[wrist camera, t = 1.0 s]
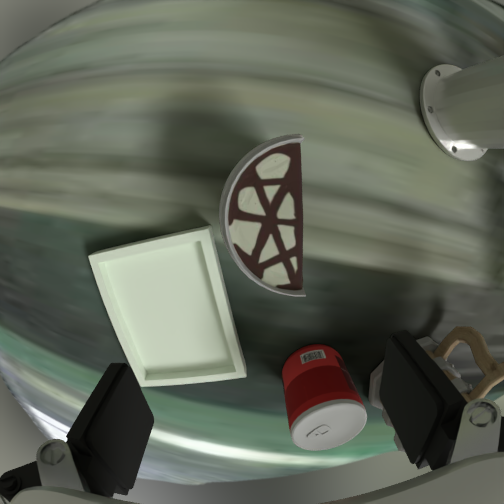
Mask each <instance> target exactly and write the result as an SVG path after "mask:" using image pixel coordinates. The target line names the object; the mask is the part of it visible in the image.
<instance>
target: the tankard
mask: <svg viewBox="0 0 504 504" xmlns="http://www.w3.org/2000/svg"><path fill="white" fill-rule="evenodd" d="M416 341H417V342H418V343H419V344H420V346H421V347H422V348H423V349H424V350H425V352H426V353H427V354H428V355H429V356H430V357H431V359H433V360H434V361H435V362H436V364H437V365H438V366H439V367H440V368H441V370H442V371H443V372H444V373H445V374H446V376H447V377H448V378H449V379H450V381H451V382H452V383H453V384H454V386H455V387H456V388H457V389H458V391H459V392H460V393H461V395H462V396H463V397H464V398H465V400H466V401H467V402H468V403H469V402H470V401H472V400H474V399H478V398H483V397H484V396H485V395H486V394H487V393H488V392H489V390H490V389H491V388H492V387H493V386H495V385H496V384H498V383H499V382H501V381H502V380H503V379H504V362H502V363H500V364H498V363H497V362H496V361H495V359H494V358H493V357H492V356H491V354H490V353H489V350H488V348H487V345H486V343H485V340H484V338H483V336H482V335H481V334H480V333H479V332H478V331H476V330H475V329H474V328H472V327H455V328H454V329H453V330H452V331H451V332H450V333H449V334H448V335H447V336H446V337H445V338H444V339H443V341H442V342H441V344H440V345H438V344H437V343H436V342H434V341H433V340H432V339H431V338H429V337H428V336H427V337H424V338H421V339H418V340H416ZM460 342H462V343H467V344H468V345H469V346H470V348H471V350H472V353H473V356H474V359H475V362H476V364H477V365H478V366H479V368H480V369H481V370H482V372H483V373H484V375H485V377H484V378H483V379H482V380H481V382H480V383H479V384H478V385H477V386H476V387H475V388H474V389H472V387H471V384H467V383H465V382H464V381H463V380H462V379H460V377H461V375H460V374H459V373H458V371H457V370H456V369H455V368H454V366H453V364H449V363H448V362H447V357H448V356H449V354H450V353H451V351H452V350H453V348H454V347H455V346H456V345H457V344H459V343H460ZM383 365H384V361H383V362H382V363H381V364H380V365H379V366H378V367H377V368H376V369H375V370H374V371H373V372H372V373H371V376H370V387H369V398H368V399H369V402H370V404H371V405H373V406H375V407H377V408H380V409H382V410H383V412H382V417H383V419H384V421H385V423H386V425H388V426H390V427H393V425H392V422H391V420H390V418H389V416H388V414H387V412H386V410H385V408H384V406H383V404H382V402H381V400H380V396H379V390H380V384H381V378H382V372H383ZM393 428H394V427H393ZM394 441H395V444H396V446H397V448H398V450H399V451H403V452H405V450H404V448H403V445H402V443H401V441H400V439H399V437H398V435H397V433H396V432H395V436H394Z"/></svg>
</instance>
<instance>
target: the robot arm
mask: <svg viewBox="0 0 504 504" xmlns="http://www.w3.org/2000/svg"><path fill="white" fill-rule="evenodd" d="M420 106H421V111H422V115H423V118H424V121H425V124H426V126H427V128H428V130H429V133H430V134H431V136H432V137H433V139H434V141H435V142H436V143H437V144H438V146H439V147H440V148H441V149H442V150H443V151H444V152H445V153H446V154H448V155H449V156H451V157H453V158H455V159H458V160H462V161H473V160H476V159H479V158H480V157H481V156H483V155H484V153H485V152H486V151H487V149H488V148H500V149H504V56H501V57H498V58H495V59H492V60H489V61H486V62H483V63H480V64H477V65H474V66H471V67H469V68H466V69H463V70H462V69H461V68H459V67H457V66H454V65H450V64H442V65H438V66H435V67H433V68H431V69H430V70H429V71H428V72H427V73H426V74H425V76H424V78H423V80H422V83H421V87H420ZM379 396H380V400H381V402H382V404H383V406H384V408H385V410H386V412H387V414H388V416H389V418H390V420H391V422H392V425H393V427H394V429H395V431H396V433H397V435H398V437H399V439H400V441H401V443H402V445H403V448H404V450H405V452H406V454H407V456H408V458H409V460H410V462H411V463H412V464H414V463H415V464H416V466H417V468H418V469H421V468H423V467H425V466H428V465H429V466H430V468H431V470H433V471H431V472H428V473H426V474H423V475H421V476H418V477H416V478H413V479H410V480H407V481H404V482H401V483H398V484H395V485H392V486H389V487H386V488H382V489H379V490H376V491H372V492H369V493H365V494H361V495H357V496H353V497H349V498H345V499H340V500H336V501H331V502H325V503H320V504H504V417H502V416H501V410H500V408H499V406H498V405H497V404H496V403H495V402H493V401H491V400H489V399H485V398H478V399H474V400H472V401H470V402H469V403H468V402H467V401H466V400H465V398H464V397H463V396H462V395H461V393H460V392H459V391H458V389H457V388H456V387H455V386H454V384H453V383H452V382H451V381H450V379H449V378H448V377H447V376H446V374H445V373H444V372H443V371H442V370H441V368H440V367H439V366H438V365H437V364H436V362H435V361H434V360H433V359H431V357H430V356H429V355H428V354H427V353H426V352H425V350H424V349H423V348H422V347H421V346H420V344H419V343H418V342H417V341H416V340H415V339H414V337H413V336H412V335H411V334H410V333H409V332H408V331H407V330H405V331H401V332H397V333H393V334H392V335H391V338H388V339H387V342H386V350H385V358H384V365H383V372H382V378H381V384H380V390H379ZM153 424H154V417H153V414H152V412H151V410H150V408H149V406H148V404H147V401H146V399H145V397H144V395H143V393H142V391H141V388H140V386H139V384H138V382H137V379H136V377H135V375H134V372H133V370H132V368H131V367H128V365H127V364H125V363H111V364H110V365H109V367H108V368H107V370H106V371H105V373H104V375H103V376H102V378H101V379H100V381H99V382H98V384H97V386H96V387H95V389H94V390H93V392H92V394H91V395H90V397H89V399H88V400H87V402H86V404H85V405H84V407H83V408H82V410H81V412H80V414H79V415H78V417H77V419H76V420H75V422H74V424H73V425H72V427H71V429H70V431H69V432H68V434H67V436H66V437H67V438H68V440H67V442H64V441H63V440H60V439H52V440H48V441H46V442H45V443H43V444H42V445H41V446H40V447H39V449H38V451H37V454H36V460H37V461H34V462H32V463H29V464H26V465H24V466H21V467H18V468H16V469H13V470H10V471H8V472H5V473H4V474H3V475H2V476H1V477H0V504H139V503H133V502H128V501H123V500H117V499H113V494H114V493H117V494H122V495H127V494H128V491H129V489H132V488H133V486H134V483H135V480H136V477H137V473H138V470H139V467H140V464H141V461H142V458H143V455H144V451H145V448H146V445H147V442H148V439H149V436H150V433H151V430H152V427H153Z"/></svg>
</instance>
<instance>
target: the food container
mask: <svg viewBox="0 0 504 504" xmlns="http://www.w3.org/2000/svg"><path fill="white" fill-rule="evenodd" d="M303 140H304V138H303V136H302V135H300V134H292V135H285V136H280V137H276V138H273V139H271V140H268V141H266V142H264V143H262V144H260V145H258V146H257V147H255V148H254V149H252V150H251V151H249V152H248V153H247V154H246V155H245V156H244V157H243V158H242V159H241V160H240V161H239V162H238V163H237V165H236V166H235V167H234V169H233V170H232V171H231V173H230V175H229V177H228V179H227V181H226V183H225V186H224V188H223V191H222V194H221V200H220V205H219V223H220V229H221V234H222V237H223V240H224V243H225V246H226V248H227V250H228V252H229V254H230V255H231V257H232V258H233V260H234V261H235V262H236V264H237V265H238V267H239V268H240V269H241V270H242V271H243V272H244V273H245V274H246V275H247V276H248V277H249V278H250V279H252V280H253V281H254V282H256V283H257V284H258V285H260V286H262V287H264V288H266V289H268V290H270V291H273V292H276V293H280V294H284V295H290V296H306V294H305V291H304V288H303V286H302V283H303V277H302V258H303V204H302V172H301V149H300V144H301V143H302V141H303Z"/></svg>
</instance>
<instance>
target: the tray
mask: <svg viewBox="0 0 504 504" xmlns="http://www.w3.org/2000/svg"><path fill="white" fill-rule="evenodd" d="M88 257H89V260H90V264H91V267H92V270H93V273H94V276H95V279H96V282H97V285H98V288H99V291H100V293H101V296H102V299H103V302H104V304H105V307H106V309H107V312H108V315H109V317H110V320H111V322H112V325H113V327H114V329H115V332H116V334H117V337H118V339H119V341H120V343H121V346H122V348H123V350H124V352H125V355H126V357H127V359H128V361H129V363H130V365H131V367H132V369H133V371H134V374H135V376H136V378H137V380H138V382H139V383H140V385H141V387H144V386H164V385H179V384H191V383H201V382H211V381H219V380H228V379H235V378H242V377H246V363H245V360H244V356H243V352H242V349H241V345H240V341H239V337H238V333H237V330H236V326H235V322H234V318H233V314H232V310H231V306H230V302H229V298H228V294H227V290H226V286H225V282H224V278H223V274H222V270H221V266H220V262H219V257H218V253H217V249H216V245H215V240H214V236H213V232H212V227H211V225H209V226H204V227H199V228H195V229H190V230H185V231H181V232H176V233H172V234H167V235H163V236H158V237H154V238H150V239H145V240H141V241H137V242H133V243H128V244H124V245H120V246H116V247H112V248H108V249H104V250H100V251H96V252H94V253H93V254H91V255H89V256H88Z"/></svg>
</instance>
